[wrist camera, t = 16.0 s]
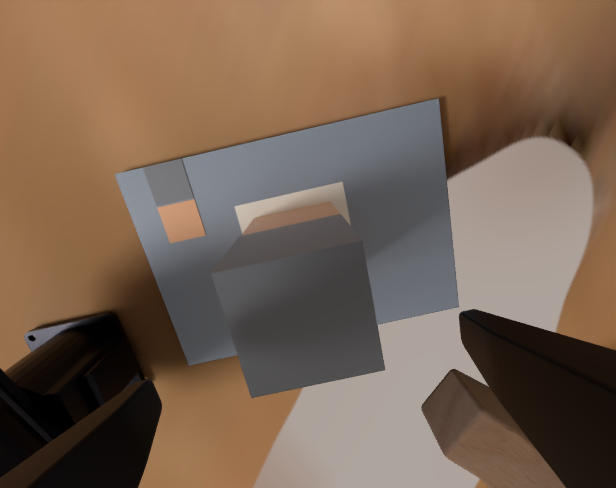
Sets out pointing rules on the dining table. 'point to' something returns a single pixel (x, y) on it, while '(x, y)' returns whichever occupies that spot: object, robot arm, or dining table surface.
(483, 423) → the wooden block
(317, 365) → the charcoal cube
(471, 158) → the dining table surface
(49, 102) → the dining table surface
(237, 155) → the board
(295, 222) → the terracotta cube
